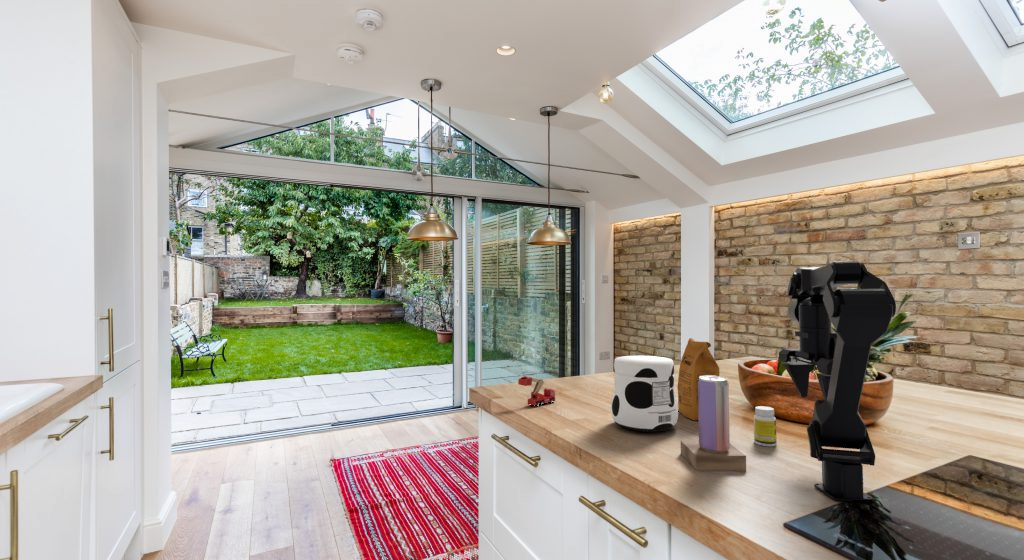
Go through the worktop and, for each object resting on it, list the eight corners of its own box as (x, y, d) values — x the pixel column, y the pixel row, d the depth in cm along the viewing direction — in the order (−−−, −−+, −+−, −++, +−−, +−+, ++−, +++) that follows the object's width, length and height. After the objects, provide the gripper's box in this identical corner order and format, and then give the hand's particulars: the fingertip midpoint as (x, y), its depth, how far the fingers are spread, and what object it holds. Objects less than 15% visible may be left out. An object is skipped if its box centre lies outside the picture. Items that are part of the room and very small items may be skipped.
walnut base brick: (746, 470, 97) (746, 455, 97) (696, 470, 98) (696, 455, 98) (726, 453, 107) (725, 440, 107) (680, 453, 108) (680, 440, 108)
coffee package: (705, 410, 146) (704, 337, 146) (725, 421, 133) (723, 341, 134) (673, 410, 145) (672, 337, 146) (689, 422, 133) (688, 342, 133)
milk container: (623, 415, 141) (622, 353, 141) (684, 423, 132) (683, 357, 132) (602, 430, 126) (601, 361, 126) (670, 440, 117) (668, 366, 117)
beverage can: (700, 453, 99) (699, 380, 100) (697, 444, 105) (696, 375, 105) (732, 455, 98) (731, 381, 98) (727, 446, 103) (725, 376, 104)
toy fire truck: (556, 402, 157) (556, 373, 157) (525, 410, 148) (525, 378, 148) (549, 401, 159) (549, 371, 160) (518, 408, 151) (517, 377, 151)
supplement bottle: (779, 447, 111) (778, 410, 111) (757, 446, 112) (756, 410, 112) (772, 441, 116) (772, 405, 116) (751, 440, 117) (750, 405, 117)
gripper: (888, 330, 91) (890, 414, 91) (826, 323, 109) (828, 392, 109) (828, 331, 91) (829, 414, 91) (776, 324, 110) (778, 392, 110)
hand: (816, 402), depth 100 cm, fingers open, 9 cm apart
